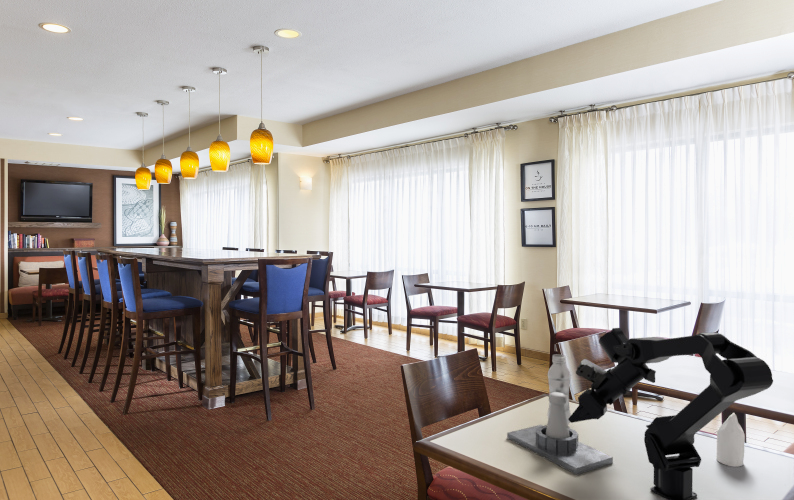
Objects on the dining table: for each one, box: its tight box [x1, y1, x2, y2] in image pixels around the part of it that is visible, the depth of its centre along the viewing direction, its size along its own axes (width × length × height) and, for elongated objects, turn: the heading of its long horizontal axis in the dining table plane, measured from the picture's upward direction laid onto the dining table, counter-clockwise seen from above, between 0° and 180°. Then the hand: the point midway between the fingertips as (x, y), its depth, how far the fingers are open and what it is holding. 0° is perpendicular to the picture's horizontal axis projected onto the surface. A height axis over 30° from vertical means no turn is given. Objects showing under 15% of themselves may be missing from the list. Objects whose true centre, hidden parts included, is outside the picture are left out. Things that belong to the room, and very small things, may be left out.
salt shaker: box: [546, 392, 570, 438], centre depth 130 cm, size 6×6×13 cm
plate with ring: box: [506, 424, 614, 475], centre depth 130 cm, size 24×12×4 cm, turn 28°
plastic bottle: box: [547, 354, 572, 426], centre depth 146 cm, size 6×7×20 cm
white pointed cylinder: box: [716, 412, 746, 468], centre depth 122 cm, size 6×12×6 cm
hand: (574, 415), depth 127 cm, fingers open, 9 cm apart
